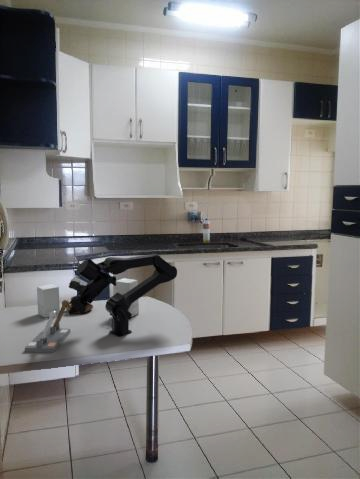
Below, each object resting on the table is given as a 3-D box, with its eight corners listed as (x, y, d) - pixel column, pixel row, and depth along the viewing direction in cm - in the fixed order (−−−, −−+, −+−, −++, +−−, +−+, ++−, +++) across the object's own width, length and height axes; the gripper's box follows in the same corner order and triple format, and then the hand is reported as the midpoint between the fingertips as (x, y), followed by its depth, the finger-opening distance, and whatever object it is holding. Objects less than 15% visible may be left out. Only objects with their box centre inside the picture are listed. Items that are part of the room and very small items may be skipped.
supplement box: (60, 314, 183) (59, 286, 181) (44, 318, 179) (42, 289, 177) (53, 310, 189) (52, 283, 187) (37, 313, 184) (36, 286, 182)
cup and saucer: (83, 316, 181) (83, 303, 180) (60, 313, 185) (60, 300, 184) (97, 308, 193) (97, 295, 192) (75, 305, 197) (75, 293, 196)
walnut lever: (58, 329, 161) (71, 300, 159) (56, 331, 158) (69, 303, 156) (52, 325, 161) (64, 297, 159) (49, 328, 158) (62, 299, 156)
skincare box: (139, 314, 185) (139, 279, 183) (129, 318, 179) (129, 283, 177) (124, 310, 189) (124, 277, 187) (115, 314, 184) (114, 280, 181)
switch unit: (70, 332, 162) (70, 322, 162) (53, 352, 144) (52, 341, 143) (45, 331, 163) (44, 322, 162) (25, 351, 144) (24, 341, 144)
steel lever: (46, 342, 148) (59, 311, 146) (43, 345, 145) (57, 314, 143) (39, 338, 148) (52, 308, 146) (36, 341, 145) (49, 310, 143)
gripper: (88, 265, 164) (61, 292, 166) (74, 276, 146) (45, 306, 148) (108, 285, 165) (81, 311, 167) (97, 298, 147) (67, 328, 149)
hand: (69, 313), depth 158 cm, fingers closed
